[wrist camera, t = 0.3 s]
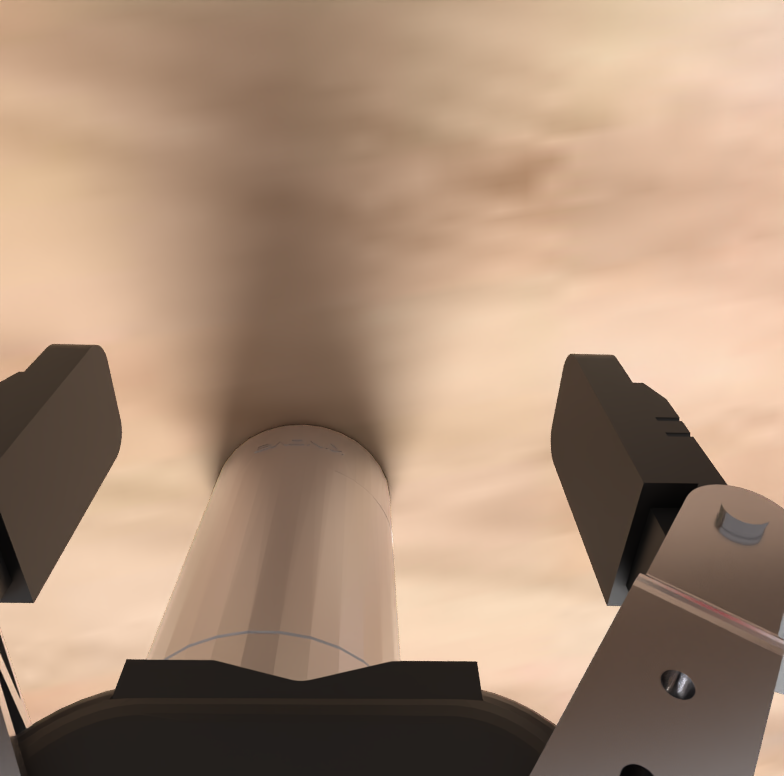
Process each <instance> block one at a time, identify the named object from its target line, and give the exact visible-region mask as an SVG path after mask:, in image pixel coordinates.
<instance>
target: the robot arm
mask: <svg viewBox="0 0 784 776" xmlns="http://www.w3.org/2000/svg"><path fill="white" fill-rule="evenodd" d="M121 438H122V427H121V419H120V415H119V410H118V406H117V401H116V397H115V392H114V388H113V383H112V379H111V374H110V370H109V365H108V361H107V357H106V354H105V352H104V350H103V349H102V348H101V347H100V346H98V345H73V344H52V345H50V346H48V347H47V348H46V349H45V350H44V351H43V352H42V353H41V355H40V356H39V357H38V358H37V359H36V360H35V361H34V362H33V363H32V364H31V365H30V366H29V367H28V368H27V369H26V370H25V371H24V372H18V373H16V374H14V375H12V376H10V377H9V378H7V379H5V380H3V381H1V382H0V603H34V602H35V600H36V598H37V596H38V595H39V593H40V591H41V589H42V588H43V586H44V584H45V582H46V581H47V579H48V577H49V575H50V574H51V572H52V570H53V568H54V567H55V565H56V563H57V561H58V559H59V558H60V556H61V554H62V552H63V551H64V549H65V547H66V545H67V544H68V542H69V540H70V538H71V537H72V535H73V533H74V531H75V530H76V528H77V526H78V524H79V523H80V521H81V519H82V517H83V516H84V514H85V512H86V510H87V509H88V507H89V505H90V503H91V502H92V500H93V498H94V496H95V495H96V493H97V491H98V489H99V487H100V486H101V484H102V482H103V480H104V479H105V477H106V475H107V473H108V472H109V470H110V468H111V466H112V465H113V463H114V461H115V459H116V457H117V455H118V453H119V449H120V445H121ZM551 453H552V459H553V462H554V465H555V468H556V471H557V473H558V476H559V479H560V481H561V484H562V487H563V489H564V492H565V495H566V497H567V500H568V503H569V505H570V508H571V511H572V513H573V516H574V519H575V521H576V524H577V527H578V530H579V532H580V535H581V538H582V540H583V543H584V546H585V548H586V551H587V554H588V556H589V559H590V562H591V564H592V567H593V570H594V572H595V575H596V578H597V580H598V583H599V586H600V588H601V591H602V594H603V596H604V599H605V602H606V604H607V606H621V607H620V609H619V611H618V613H617V615H616V617H615V618H614V620H613V622H612V624H611V626H610V628H609V629H608V631H607V633H606V635H605V637H604V639H603V641H602V642H601V644H600V646H599V648H598V650H597V652H596V654H595V655H594V657H593V659H592V661H591V663H590V665H589V666H588V668H587V670H586V672H585V674H584V676H583V678H582V679H581V681H580V683H579V685H578V687H577V689H576V691H575V692H574V694H573V696H572V698H571V700H570V702H569V703H568V705H567V707H566V709H565V711H564V713H563V715H562V716H561V718H560V720H559V722H558V724H557V726H556V725H555V724H554V723H552V722H551V721H549V720H548V719H546V718H544V717H543V716H541V715H540V714H538V713H537V712H535V711H533V710H532V709H530V708H528V707H526V706H524V705H522V704H520V703H518V702H516V701H513V700H511V699H508V698H506V697H503V696H500V695H498V694H495V693H491V692H488V691H484V690H481V686H480V679H479V672H478V665H477V662H467V661H400V646H399V631H398V616H397V601H396V586H395V570H394V555H393V536H392V522H391V507H390V496H389V490H388V484H387V481H386V478H385V476H384V474H383V471H382V469H381V467H380V466H379V464H378V463H377V462H376V460H375V459H374V458H373V456H372V455H371V454H370V453H369V452H368V451H367V450H366V449H365V448H363V447H362V446H361V445H360V444H359V443H358V442H356V441H354V440H353V439H351V438H349V437H347V436H345V435H344V434H342V433H340V432H337V431H333V430H330V429H327V428H324V427H319V426H311V425H289V426H281V427H278V428H274V429H270V430H266V431H264V432H262V433H260V434H258V435H256V436H254V437H252V438H250V439H248V440H247V441H246V442H244V443H243V444H242V445H241V446H239V447H238V448H237V449H236V450H235V451H234V452H233V453H232V455H231V456H230V457H229V458H228V460H227V461H226V462H225V464H224V466H223V468H222V470H221V472H220V475H219V477H218V479H217V482H216V484H215V487H214V489H213V492H212V494H211V497H210V499H209V502H208V504H207V507H206V510H205V512H204V514H203V516H202V519H201V521H200V524H199V526H198V529H197V531H196V534H195V536H194V539H193V542H192V544H191V547H190V549H189V552H188V554H187V557H186V559H185V562H184V564H183V567H182V569H181V572H180V575H179V577H178V580H177V582H176V585H175V587H174V590H173V592H172V595H171V597H170V600H169V602H168V605H167V607H166V610H165V613H164V615H163V618H162V620H161V623H160V625H159V628H158V630H157V633H156V635H155V638H154V640H153V643H152V645H151V648H150V651H149V653H148V656H147V658H146V660H132V659H127V660H126V662H125V665H124V668H123V670H122V673H121V676H120V678H119V681H118V683H117V686H116V689H114V690H110V691H106V692H103V693H100V694H97V695H94V696H91V697H88V698H85V699H82V700H80V701H77V702H75V703H73V704H71V705H68V706H66V707H64V708H61V709H59V710H58V711H56V712H54V713H52V714H50V715H48V716H47V717H45V718H43V719H41V720H39V721H37V722H36V723H34V724H33V725H32V722H31V720H30V717H29V714H28V711H27V708H26V705H25V701H24V698H23V695H22V692H21V689H20V686H19V683H18V680H17V677H16V674H15V671H14V668H13V665H12V662H11V659H10V655H9V652H8V649H7V646H6V643H5V640H4V637H3V634H2V631H1V628H0V776H754V772H755V768H756V764H757V760H758V756H759V752H760V748H761V744H762V739H763V735H764V731H765V727H766V723H767V719H768V715H769V711H770V707H771V703H772V699H773V695H774V692H777V693H781V694H784V509H783V508H782V507H780V506H779V505H778V504H776V503H775V502H773V501H771V500H770V499H768V498H766V497H764V496H762V495H760V494H757V493H755V492H753V491H750V490H747V489H743V488H739V487H735V486H729V485H727V484H726V482H725V481H724V479H723V478H722V477H721V475H720V474H719V472H718V471H717V470H716V468H715V467H714V465H713V464H712V463H711V461H710V460H709V458H708V457H707V456H706V454H705V453H704V451H703V450H702V449H701V447H700V446H699V444H698V443H697V442H696V440H695V439H694V437H690V432H689V430H688V429H687V428H686V426H685V425H684V423H683V422H682V421H679V416H678V415H677V414H676V412H675V411H674V409H673V408H672V406H671V405H670V404H669V402H668V401H667V399H665V398H664V397H662V396H661V395H660V394H658V393H657V392H655V391H654V390H652V389H651V388H650V387H648V386H647V385H645V384H644V383H632V381H631V380H630V378H629V377H628V375H627V373H626V372H625V370H624V369H623V367H622V366H621V364H620V363H619V361H618V360H617V358H616V357H615V356H614V355H596V354H570V355H569V356H568V357H567V358H566V361H565V364H564V368H563V372H562V378H561V383H560V388H559V393H558V398H557V403H556V409H555V414H554V419H553V424H552V430H551Z"/></svg>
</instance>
